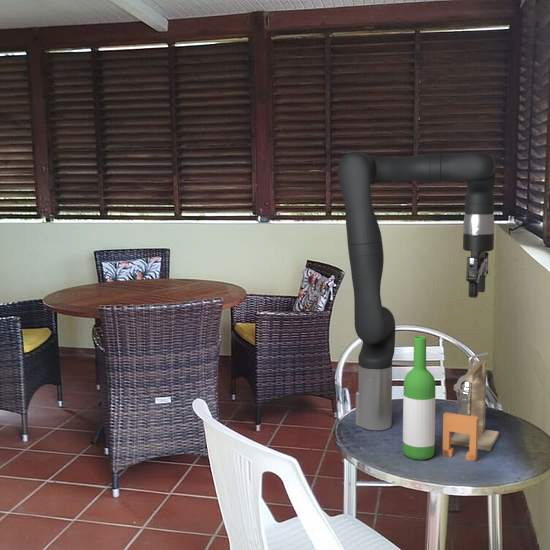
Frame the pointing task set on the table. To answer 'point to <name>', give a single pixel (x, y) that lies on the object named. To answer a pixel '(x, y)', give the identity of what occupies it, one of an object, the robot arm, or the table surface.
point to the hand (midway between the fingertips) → (476, 294)
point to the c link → (463, 426)
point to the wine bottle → (419, 407)
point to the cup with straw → (465, 391)
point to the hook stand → (477, 409)
